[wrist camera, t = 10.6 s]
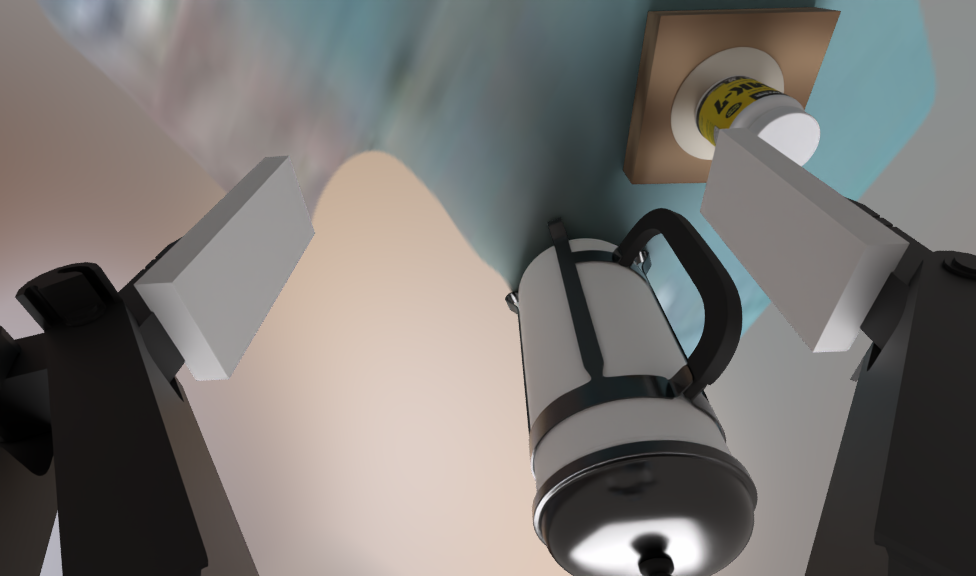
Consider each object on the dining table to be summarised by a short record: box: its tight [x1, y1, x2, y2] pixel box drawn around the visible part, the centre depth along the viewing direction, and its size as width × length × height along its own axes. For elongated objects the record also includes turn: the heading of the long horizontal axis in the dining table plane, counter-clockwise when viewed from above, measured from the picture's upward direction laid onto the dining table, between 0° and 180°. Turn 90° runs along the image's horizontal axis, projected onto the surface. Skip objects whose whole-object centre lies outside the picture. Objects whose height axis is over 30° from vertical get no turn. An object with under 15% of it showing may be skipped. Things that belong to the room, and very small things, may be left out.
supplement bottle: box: [695, 75, 820, 166], centre depth 31 cm, size 5×5×8 cm
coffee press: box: [505, 208, 757, 576], centre depth 34 cm, size 17×16×30 cm
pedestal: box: [623, 7, 841, 184], centre depth 35 cm, size 12×12×3 cm
